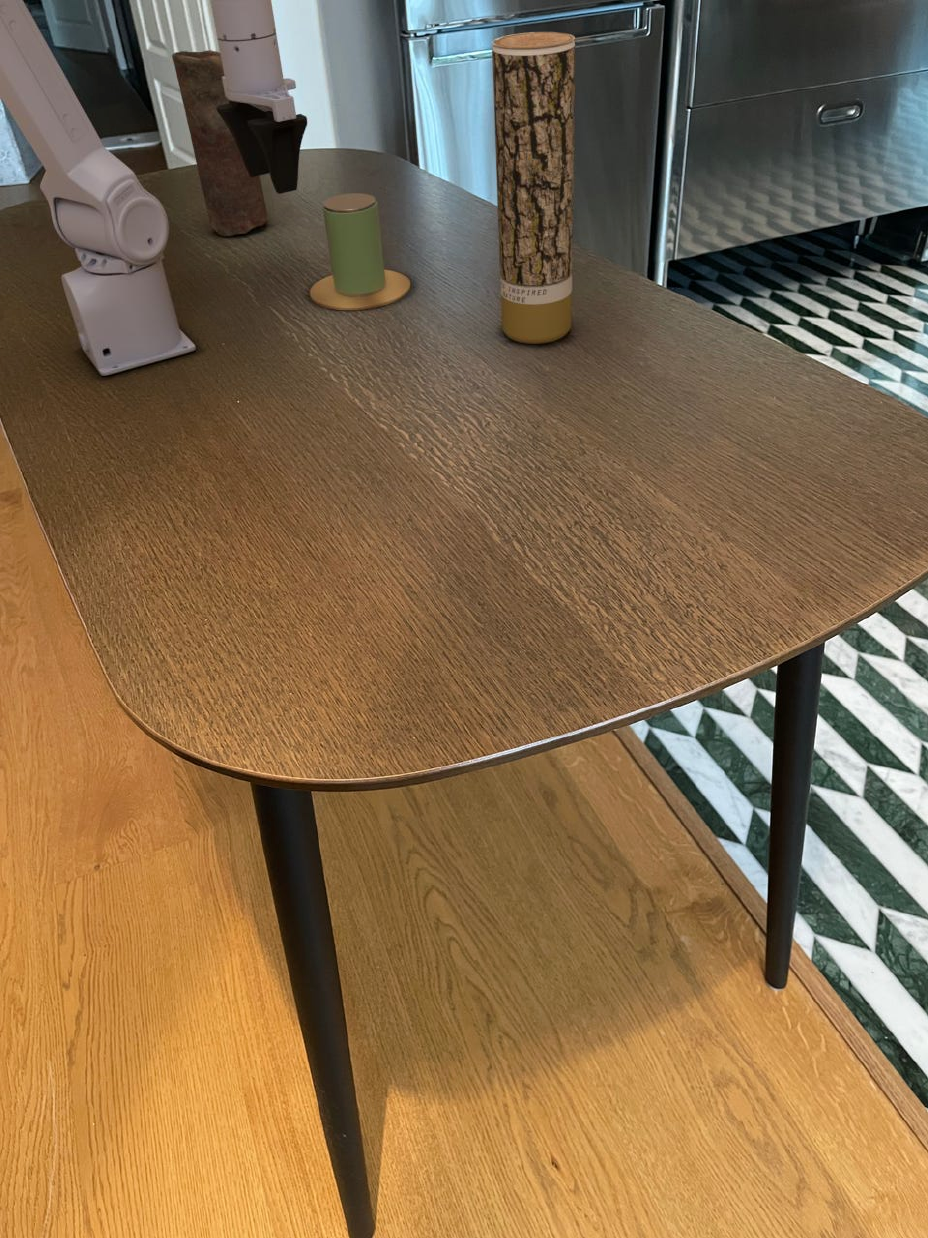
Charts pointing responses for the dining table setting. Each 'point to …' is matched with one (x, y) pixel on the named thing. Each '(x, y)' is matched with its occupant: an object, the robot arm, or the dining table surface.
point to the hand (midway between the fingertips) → (272, 182)
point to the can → (354, 244)
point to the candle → (217, 147)
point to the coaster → (330, 298)
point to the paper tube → (535, 181)
